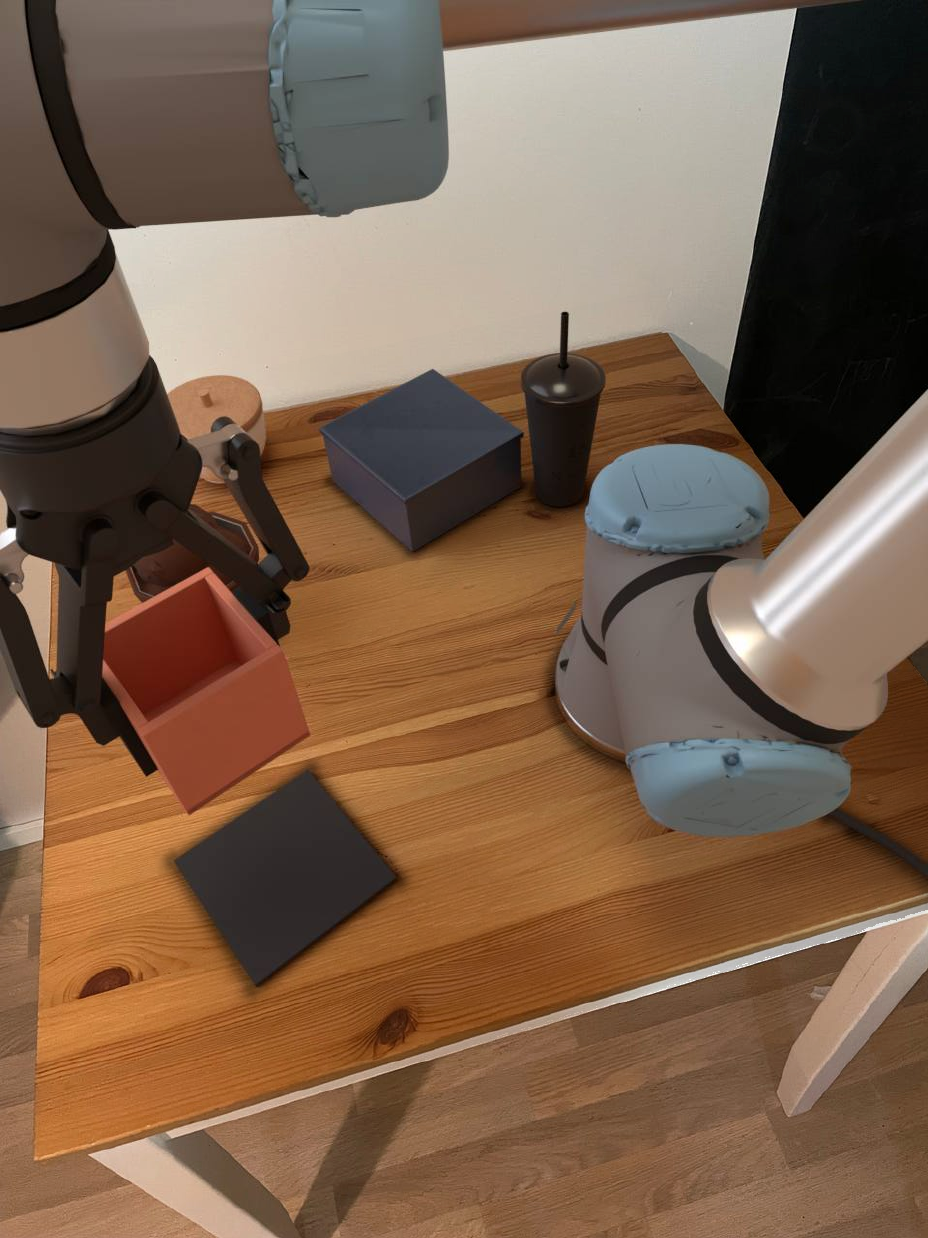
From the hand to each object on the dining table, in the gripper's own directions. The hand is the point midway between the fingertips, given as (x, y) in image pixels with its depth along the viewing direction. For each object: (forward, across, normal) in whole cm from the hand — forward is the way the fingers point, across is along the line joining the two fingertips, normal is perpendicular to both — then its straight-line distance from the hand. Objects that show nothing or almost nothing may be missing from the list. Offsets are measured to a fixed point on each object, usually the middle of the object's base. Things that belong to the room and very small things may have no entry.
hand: (210, 714), depth 53 cm
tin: (+20, -34, -27) cm, 48 cm away
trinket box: (+21, -20, -44) cm, 53 cm away
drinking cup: (+20, -43, -17) cm, 51 cm away
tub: (+2, 0, 0) cm, 2 cm away
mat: (+21, 0, 0) cm, 21 cm away
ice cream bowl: (+21, -8, -24) cm, 33 cm away
